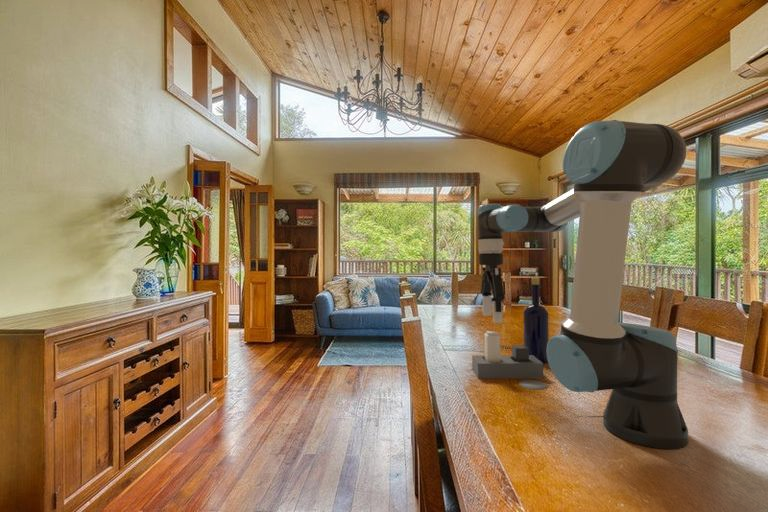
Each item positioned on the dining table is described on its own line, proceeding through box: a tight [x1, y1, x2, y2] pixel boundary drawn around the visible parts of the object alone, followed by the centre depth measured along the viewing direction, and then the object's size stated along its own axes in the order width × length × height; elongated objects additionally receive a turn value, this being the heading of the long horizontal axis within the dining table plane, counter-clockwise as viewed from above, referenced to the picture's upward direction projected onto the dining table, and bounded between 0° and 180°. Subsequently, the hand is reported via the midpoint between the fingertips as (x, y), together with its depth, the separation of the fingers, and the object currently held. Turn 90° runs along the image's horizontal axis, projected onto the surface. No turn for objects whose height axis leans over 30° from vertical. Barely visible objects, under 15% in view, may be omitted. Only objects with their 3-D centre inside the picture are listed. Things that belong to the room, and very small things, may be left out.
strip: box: [471, 344, 544, 379], centre depth 118 cm, size 10×20×9 cm, turn 88°
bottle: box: [523, 277, 550, 365], centre depth 132 cm, size 9×9×30 cm
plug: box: [483, 330, 501, 362], centre depth 118 cm, size 4×4×13 cm
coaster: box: [518, 379, 549, 391], centre depth 108 cm, size 8×8×1 cm
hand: (492, 318), depth 118 cm, fingers open, 13 cm apart
